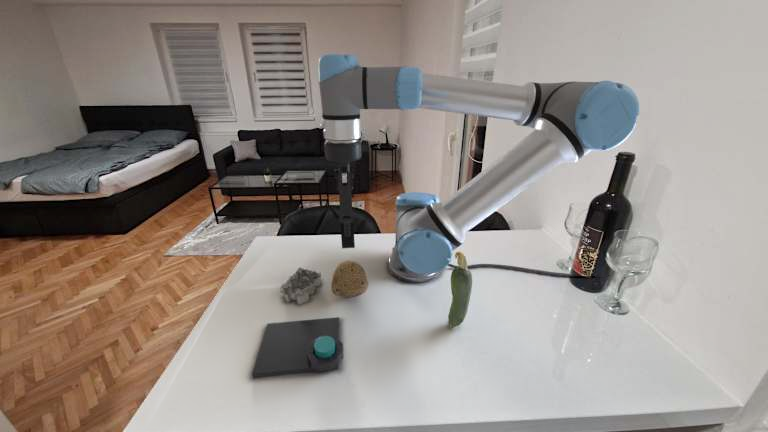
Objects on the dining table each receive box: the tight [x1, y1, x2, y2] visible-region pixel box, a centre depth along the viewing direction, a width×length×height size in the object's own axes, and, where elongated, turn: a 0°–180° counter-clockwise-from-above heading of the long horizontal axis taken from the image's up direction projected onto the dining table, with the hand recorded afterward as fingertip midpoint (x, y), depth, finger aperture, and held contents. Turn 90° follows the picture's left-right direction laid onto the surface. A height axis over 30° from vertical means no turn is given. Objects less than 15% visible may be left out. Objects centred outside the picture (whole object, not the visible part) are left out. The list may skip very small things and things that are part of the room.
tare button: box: [314, 336, 335, 359], centre depth 59 cm, size 4×4×2 cm
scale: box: [251, 316, 344, 379], centre depth 63 cm, size 17×14×3 cm
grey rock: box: [279, 267, 322, 305], centre depth 80 cm, size 11×8×4 cm
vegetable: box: [447, 251, 473, 329], centre depth 64 cm, size 4×4×20 cm
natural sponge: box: [330, 260, 369, 298], centre depth 76 cm, size 9×9×10 cm
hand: (348, 234), depth 71 cm, fingers open, 11 cm apart
